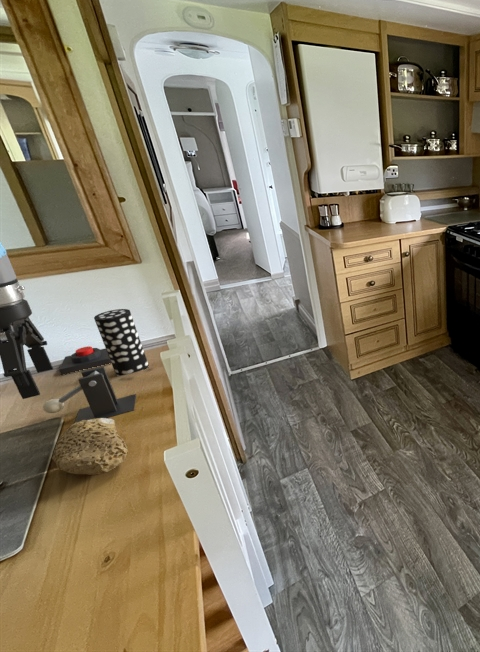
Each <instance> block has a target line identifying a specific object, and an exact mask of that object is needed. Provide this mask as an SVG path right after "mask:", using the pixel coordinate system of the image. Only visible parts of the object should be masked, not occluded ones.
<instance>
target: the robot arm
mask: <svg viewBox="0 0 480 652" xmlns="http://www.w3.org/2000/svg"><path fill="white" fill-rule="evenodd" d="M24 290H25V286H24V285H20V282H19V279H18V278H17V275H16V272H15V270H14V267H13V264H12V262H11V260H10V258H9V255H8V253H7V249H6V248H5V247H4V246H3V245H2V241H0V361H1V365H2V369H3V377H4V378H9V377H11V378H12V380H13V382H14V385H15V386H16V389H17V391H18V393H19V395H20V397H21V399H22V400H25V399H29V398H34V397H37V396H40V395H41V392H40V390H39V387H38V385H37V383H36V382H35V379H34V377H33V375H32V373H31V370H30V369H27V363H26V356H25V349H24V346H25V347H26V348H28V349H27V353H28V355H29V357H30V359H31V361H32V364H33V366H34V368H35V371H36V372H37V373H38V374H39V373H44V372H47V371H52V370H53V369H54V368H53V367H54V366H52V365H53V364H52V362H51V359H50V358H49V356H48V354H47V351H46V349H45V346H47V345H48V341H47V340H45V338H44V336H43V335H42V333H41V332H40V331H39V330H38V328H37V326H35V324H34V323H33V321H32V320H31V319H30V316H32V314H33V311H32V308H31V307H30V304H29V302H28V300H26V299H25V297H26V296H25V294H24Z"/></svg>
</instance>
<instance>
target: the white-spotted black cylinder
mask: <svg viewBox="0 0 480 652" xmlns="http://www.w3.org/2000/svg"><path fill="white" fill-rule="evenodd" d="M93 319H94V322H95V325H96V327H97V330H98V332H99V336H100V337H101V340H102V342H103V345H104V349H105V348H106V350H107V353H108V355H109V358H110V361H111V363H112V364H111V365H112V368H113V371H114V373H115V376H116V377H121V376H125V375H130V374H133V373H137V372H142V371H146V370H148V369H149V367H150V364H149V363H148V359H147V356H146V353H145V351H144V347H143V345H142V342H141V338H140V336H139V333H138V330H137V326H136V324H135V322H134V321H135V320H134V318H133V316H132V312H131V310H130V309H128V308H118V309H111V310H108V311H104V312H101V313H97V314H96V315H95V316H94V317H93ZM148 366H149V367H148ZM147 368H148V369H147ZM145 369H146V370H145Z"/></svg>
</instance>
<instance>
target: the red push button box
mask: <svg viewBox="0 0 480 652" xmlns="http://www.w3.org/2000/svg"><path fill="white" fill-rule="evenodd" d="M92 349H93V351H94V352H93V353H91V354H89V355H85V356H77V354H76V352H75V351H74V353H72V354H71V355H67V356H65V357H64V358H63V360H62V362H61V365H60V367H59V368H58V371H59V373H60V375H61V376H64V375H63V374H65V375H69V374H71V373H70V372H74V373H76V372H75V371H78V372H79V373H80V371H79V370H82V371H84V370H83V369H87V370H89V369H88V368H91V369H93V368H92V367H96V368H98V367H97V366H100V367H102V366H101V365H104V367H105V366H106V365H105V364H109V363H111V361H110V358H109V355H108V353H107V350H106V348H105V347H104V348H98V347H92ZM109 365H110V364H109ZM82 371H81V372H82ZM78 372H77V373H78ZM67 373H69V374H67Z"/></svg>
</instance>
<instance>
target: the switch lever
mask: <svg viewBox="0 0 480 652" xmlns="http://www.w3.org/2000/svg"><path fill="white" fill-rule="evenodd" d="M95 374H99V372H97V371H94V372H93V373H91V374H90V375H88V376H91V375H95ZM81 391H83V389H82V387H81V385H80V384H79V385H78V386H76V387H75V388H73V389H72V390H70V391H69V392H67V393H66V394H64V395H63V396H61V397H60V398H51V399H48V400H47V401H45V402H44V403H43V406H42V409H43V411H44V412H46V413H48V414H56V413H59V412H61V411H62V410H63V408H64V406H65V402H67V401H68V400H69V399H70V398H72V397H74V396H76V394H78V393H79V392H81Z"/></svg>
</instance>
